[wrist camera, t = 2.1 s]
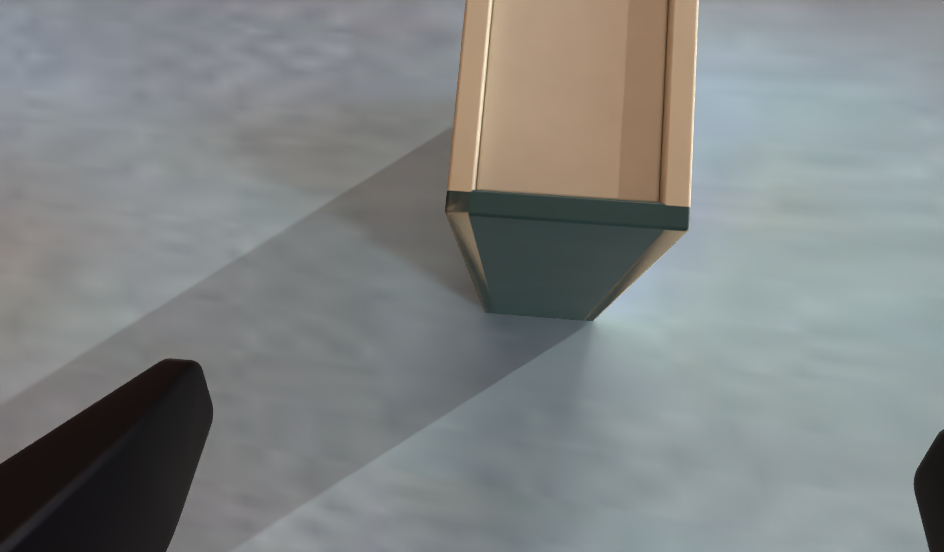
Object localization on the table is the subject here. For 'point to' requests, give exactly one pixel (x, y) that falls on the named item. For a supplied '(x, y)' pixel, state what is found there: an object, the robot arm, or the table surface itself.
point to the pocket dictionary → (571, 148)
